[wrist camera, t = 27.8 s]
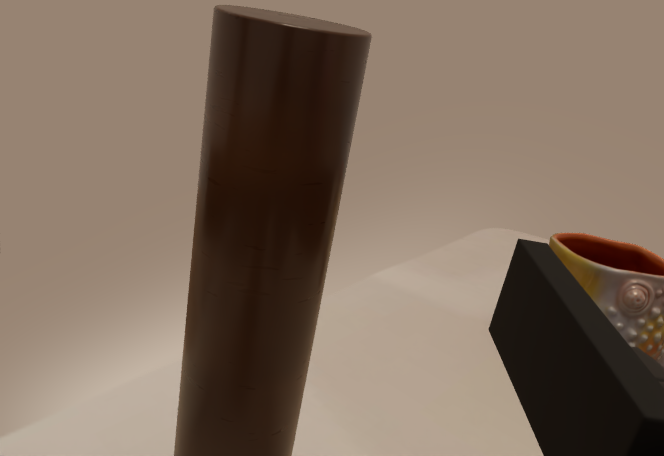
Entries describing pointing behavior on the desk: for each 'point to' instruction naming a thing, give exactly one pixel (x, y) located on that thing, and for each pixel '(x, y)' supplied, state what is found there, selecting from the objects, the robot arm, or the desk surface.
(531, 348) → the robot arm
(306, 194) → the brown cylinder rod
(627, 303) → the mug
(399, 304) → the desk surface
